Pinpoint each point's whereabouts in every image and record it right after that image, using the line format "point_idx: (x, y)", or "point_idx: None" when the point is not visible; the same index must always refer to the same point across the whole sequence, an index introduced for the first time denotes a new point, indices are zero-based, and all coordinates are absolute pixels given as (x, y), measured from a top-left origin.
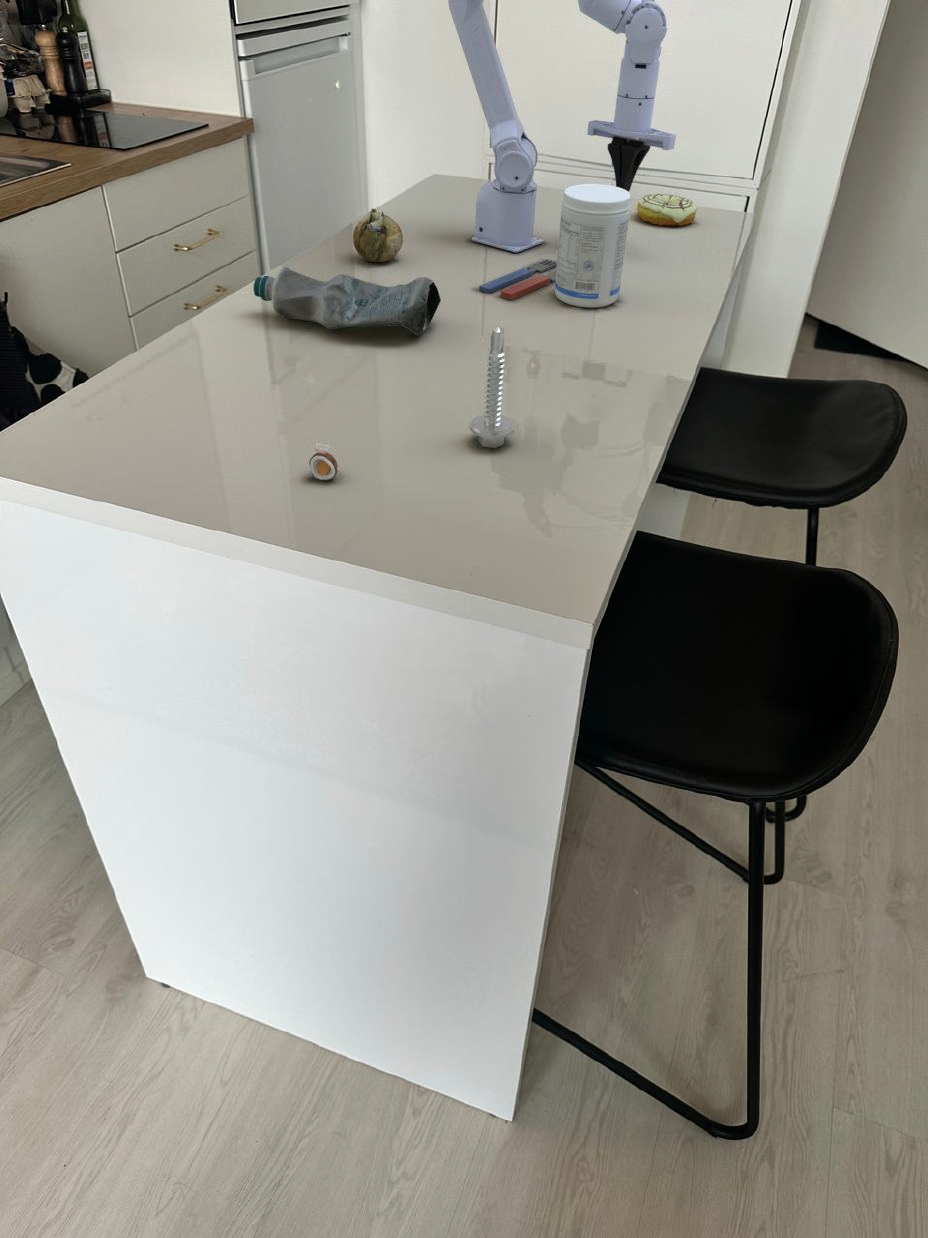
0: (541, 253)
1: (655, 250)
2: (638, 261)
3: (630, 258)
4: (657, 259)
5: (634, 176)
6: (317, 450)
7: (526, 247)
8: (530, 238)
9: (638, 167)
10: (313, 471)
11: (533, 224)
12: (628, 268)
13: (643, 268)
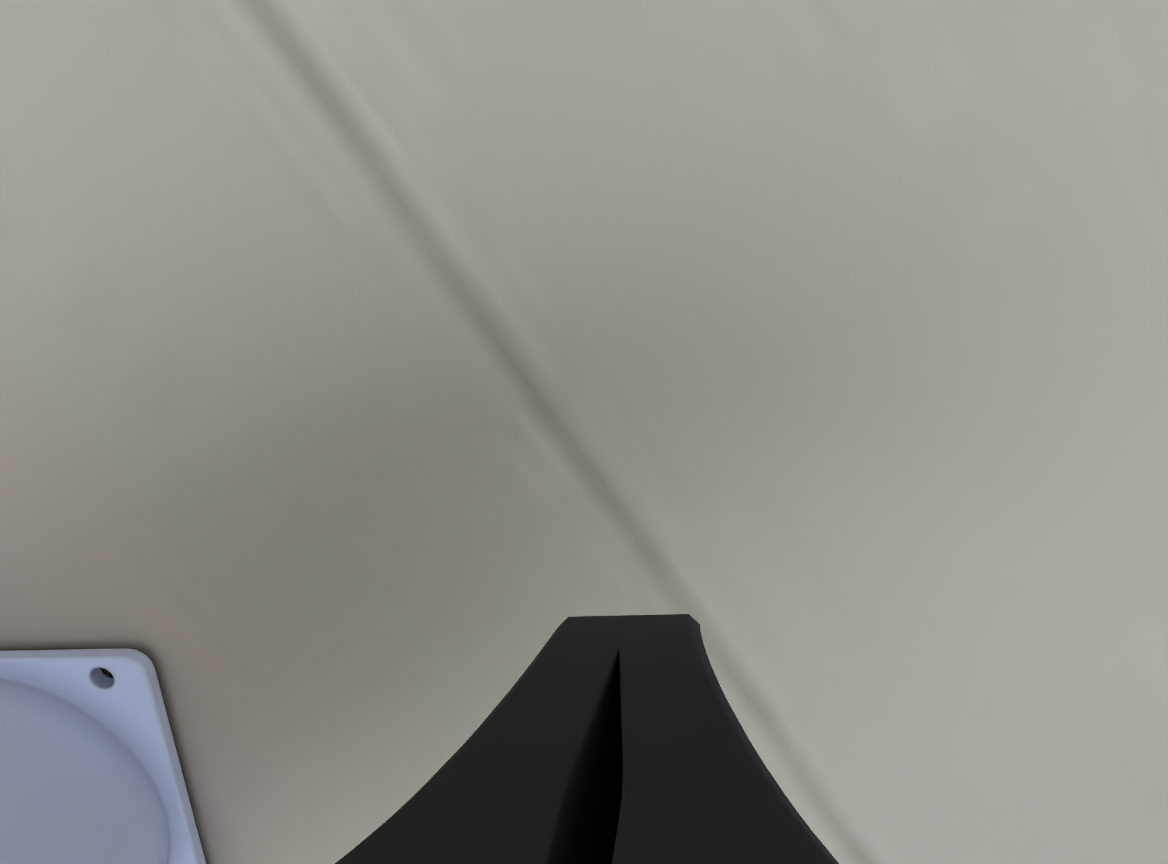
0: (317, 816)
1: (932, 52)
2: (966, 466)
3: (869, 449)
4: (1082, 290)
5: (738, 722)
6: None
7: (198, 850)
8: (142, 823)
9: (804, 825)
10: None
11: (64, 850)
12: (988, 665)
13: (1089, 585)
